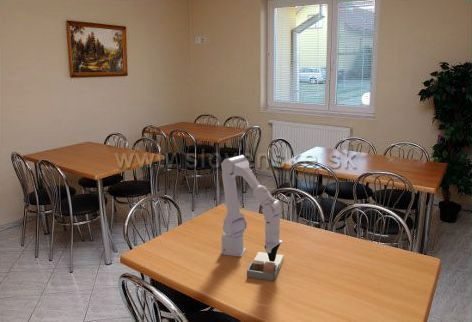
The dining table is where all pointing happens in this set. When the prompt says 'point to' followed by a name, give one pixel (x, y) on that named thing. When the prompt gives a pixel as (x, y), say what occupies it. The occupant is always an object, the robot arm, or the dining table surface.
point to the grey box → (262, 273)
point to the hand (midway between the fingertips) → (272, 260)
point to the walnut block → (258, 266)
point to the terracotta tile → (269, 267)
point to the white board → (264, 257)
